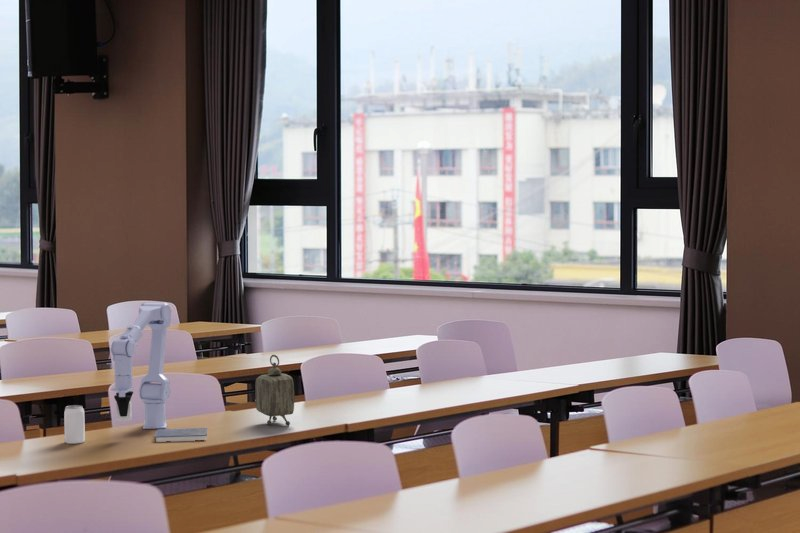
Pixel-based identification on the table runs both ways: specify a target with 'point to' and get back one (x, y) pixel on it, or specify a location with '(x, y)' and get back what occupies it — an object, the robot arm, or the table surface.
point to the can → (74, 424)
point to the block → (125, 418)
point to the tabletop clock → (275, 393)
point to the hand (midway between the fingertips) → (124, 414)
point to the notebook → (181, 434)
